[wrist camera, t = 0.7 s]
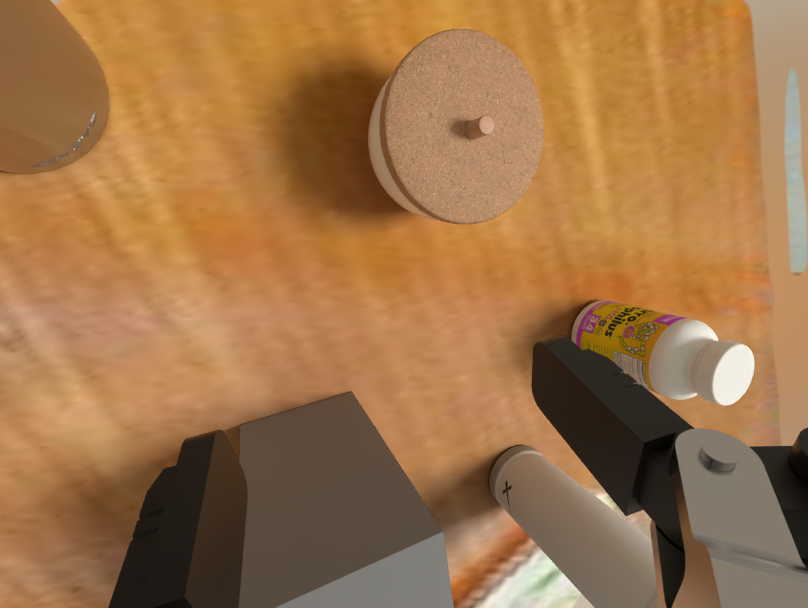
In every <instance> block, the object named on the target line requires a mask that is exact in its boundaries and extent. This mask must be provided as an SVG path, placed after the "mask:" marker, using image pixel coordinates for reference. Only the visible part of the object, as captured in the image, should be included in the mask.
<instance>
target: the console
mask: <svg viewBox="0 0 808 608" xmlns="http://www.w3.org/2000/svg"><path fill="white" fill-rule="evenodd" d="M239 463H240V465H241V467H242V469H243V471H244V474H245V478H246V482H247V489H248V502H247V514H246V526H245V538H244V550H243V562H242V574H241V586H240V598H239V608H454V606H453V599H452V592H451V585H450V578H449V571H448V564H447V557H446V549H445V542H444V535H443V531H442V529H441V528H440V526H439V525H438V523H437V522H436V520H435V519H434V517H433V515H432V514H431V512H430V511H429V509H428V508H427V506H426V505H425V503H424V502H423V500H422V499H421V497H420V495H419V494H418V492H417V491H416V489H415V488H414V486H413V485H412V483H411V482H410V480H409V479H408V477H407V475H406V474H405V472H404V471H403V469H402V468H401V466H400V465H399V463H398V462H397V460H396V459H395V457H394V455H393V454H392V452H391V451H390V449H389V448H388V446H387V445H386V443H385V442H384V440H383V439H382V437H381V435H380V434H379V432H378V431H377V429H376V428H375V426H374V425H373V423H372V422H371V420H370V418H369V417H368V415H367V414H366V412H365V411H364V409H363V408H362V406H361V405H360V403H359V402H358V400H357V398H356V397H355V395H354V394H353V392H352V391H351V392H348V393H345V394H341V395H338V396H335V397H331V398H328V399H325V400H321V401H318V402H315V403H311V404H308V405H305V406H301V407H298V408H295V409H291V410H288V411H285V412H281V413H278V414H275V415H271V416H268V417H265V418H261V419H258V420H255V421H251V422H248V423H245V424H241V425H240V460H239Z"/></svg>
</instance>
